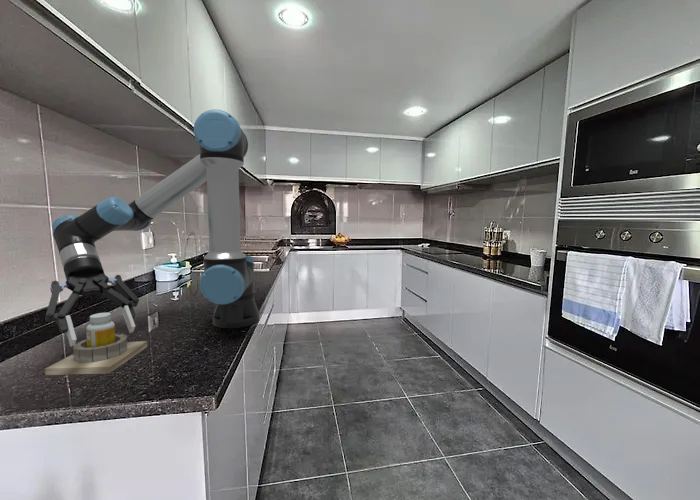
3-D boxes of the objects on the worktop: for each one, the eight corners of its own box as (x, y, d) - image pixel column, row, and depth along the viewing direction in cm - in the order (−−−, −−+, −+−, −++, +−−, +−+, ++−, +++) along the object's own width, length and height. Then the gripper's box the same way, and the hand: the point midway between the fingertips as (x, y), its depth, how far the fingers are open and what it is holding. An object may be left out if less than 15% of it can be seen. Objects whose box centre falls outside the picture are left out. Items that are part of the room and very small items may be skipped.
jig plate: (147, 346, 82) (146, 330, 82) (109, 373, 67) (108, 353, 67) (95, 347, 81) (94, 331, 80) (45, 375, 66) (44, 355, 66)
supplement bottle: (81, 358, 71) (79, 318, 70) (98, 348, 76) (96, 311, 76) (106, 357, 72) (104, 318, 71) (120, 348, 77) (119, 311, 76)
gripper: (130, 269, 91) (154, 331, 83) (16, 279, 72) (33, 360, 64) (136, 252, 87) (162, 316, 79) (19, 258, 69) (37, 342, 61)
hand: (104, 335), depth 72 cm, fingers open, 10 cm apart
